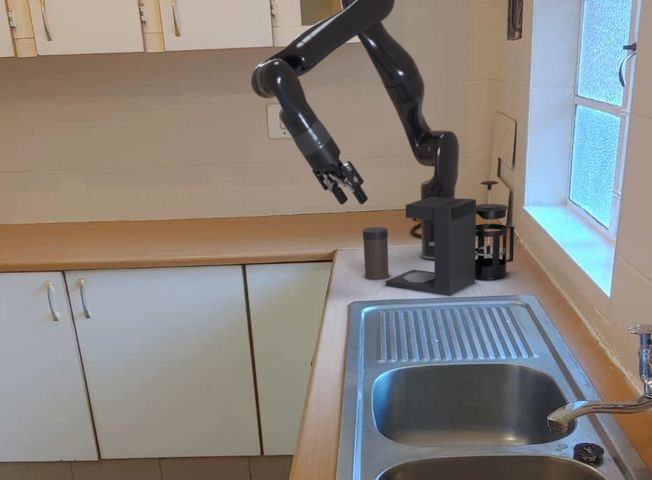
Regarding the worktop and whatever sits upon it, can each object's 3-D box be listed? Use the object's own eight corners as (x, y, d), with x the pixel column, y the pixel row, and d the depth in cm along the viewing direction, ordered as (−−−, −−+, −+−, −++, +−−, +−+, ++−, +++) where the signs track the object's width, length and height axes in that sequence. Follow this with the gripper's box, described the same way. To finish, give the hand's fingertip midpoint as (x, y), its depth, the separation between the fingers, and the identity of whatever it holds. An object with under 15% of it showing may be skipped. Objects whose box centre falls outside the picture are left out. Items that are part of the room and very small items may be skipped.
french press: (475, 282, 182) (476, 186, 173) (460, 273, 190) (460, 180, 181) (520, 276, 184) (523, 181, 175) (503, 267, 193) (505, 176, 184)
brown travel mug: (370, 272, 196) (368, 226, 192) (392, 273, 194) (390, 227, 189) (361, 278, 191) (358, 232, 186) (384, 280, 189) (382, 232, 184)
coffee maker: (385, 285, 184) (382, 203, 176) (412, 273, 193) (411, 194, 185) (449, 295, 173) (449, 208, 166) (475, 282, 182) (476, 199, 174)
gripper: (344, 130, 162) (382, 191, 170) (311, 136, 174) (348, 192, 182) (321, 152, 160) (360, 212, 168) (289, 156, 172) (327, 212, 180)
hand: (354, 202), depth 175 cm, fingers open, 8 cm apart
